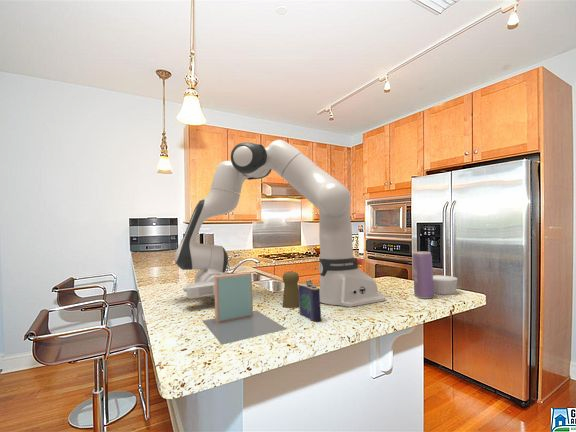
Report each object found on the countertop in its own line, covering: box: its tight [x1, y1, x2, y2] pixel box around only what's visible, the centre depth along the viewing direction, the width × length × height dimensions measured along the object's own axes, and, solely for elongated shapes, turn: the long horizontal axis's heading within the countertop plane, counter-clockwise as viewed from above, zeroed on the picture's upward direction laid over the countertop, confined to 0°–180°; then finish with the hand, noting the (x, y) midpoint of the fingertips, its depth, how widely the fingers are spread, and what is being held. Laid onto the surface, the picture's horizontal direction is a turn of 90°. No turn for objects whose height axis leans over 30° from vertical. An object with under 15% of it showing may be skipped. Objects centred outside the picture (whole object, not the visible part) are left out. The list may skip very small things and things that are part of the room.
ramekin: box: [433, 274, 459, 296], centre depth 101 cm, size 11×11×5 cm
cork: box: [282, 271, 300, 309], centre depth 88 cm, size 6×6×11 cm
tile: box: [214, 271, 254, 323], centre depth 77 cm, size 10×2×12 cm, turn 119°
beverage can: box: [411, 251, 435, 300], centre depth 95 cm, size 6×6×15 cm
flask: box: [298, 278, 322, 323], centre depth 76 cm, size 9×3×11 cm, turn 26°
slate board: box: [202, 310, 288, 346], centre depth 72 cm, size 16×19×1 cm
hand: (224, 291), depth 86 cm, fingers closed
